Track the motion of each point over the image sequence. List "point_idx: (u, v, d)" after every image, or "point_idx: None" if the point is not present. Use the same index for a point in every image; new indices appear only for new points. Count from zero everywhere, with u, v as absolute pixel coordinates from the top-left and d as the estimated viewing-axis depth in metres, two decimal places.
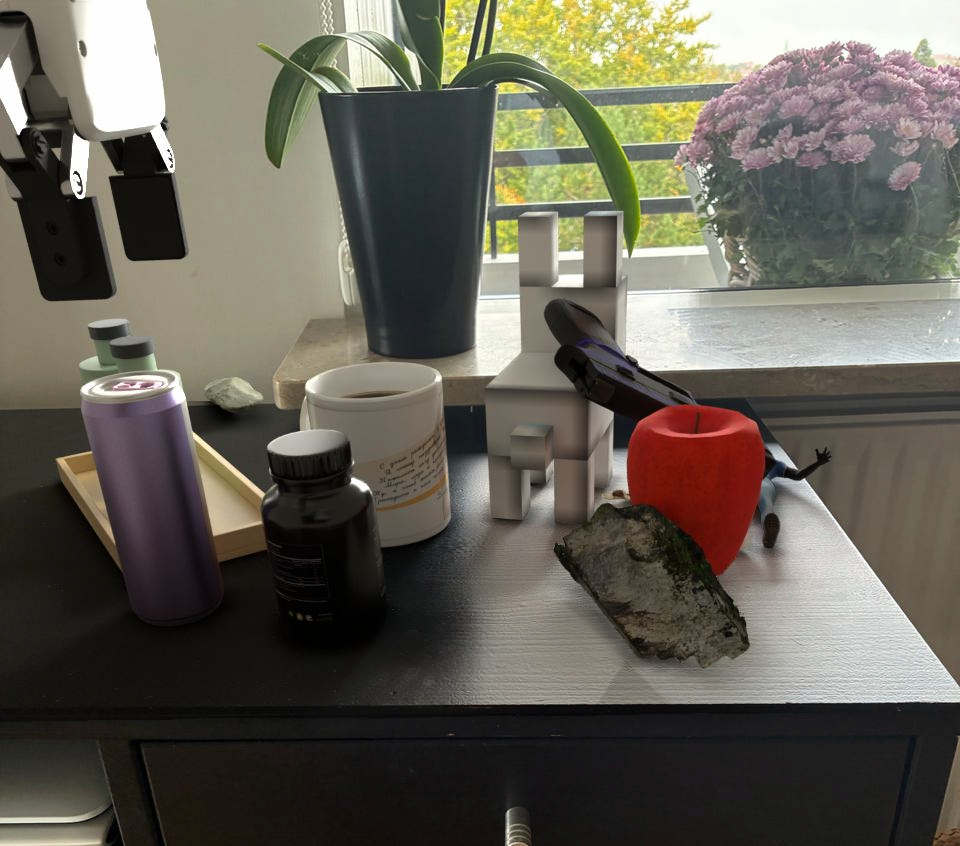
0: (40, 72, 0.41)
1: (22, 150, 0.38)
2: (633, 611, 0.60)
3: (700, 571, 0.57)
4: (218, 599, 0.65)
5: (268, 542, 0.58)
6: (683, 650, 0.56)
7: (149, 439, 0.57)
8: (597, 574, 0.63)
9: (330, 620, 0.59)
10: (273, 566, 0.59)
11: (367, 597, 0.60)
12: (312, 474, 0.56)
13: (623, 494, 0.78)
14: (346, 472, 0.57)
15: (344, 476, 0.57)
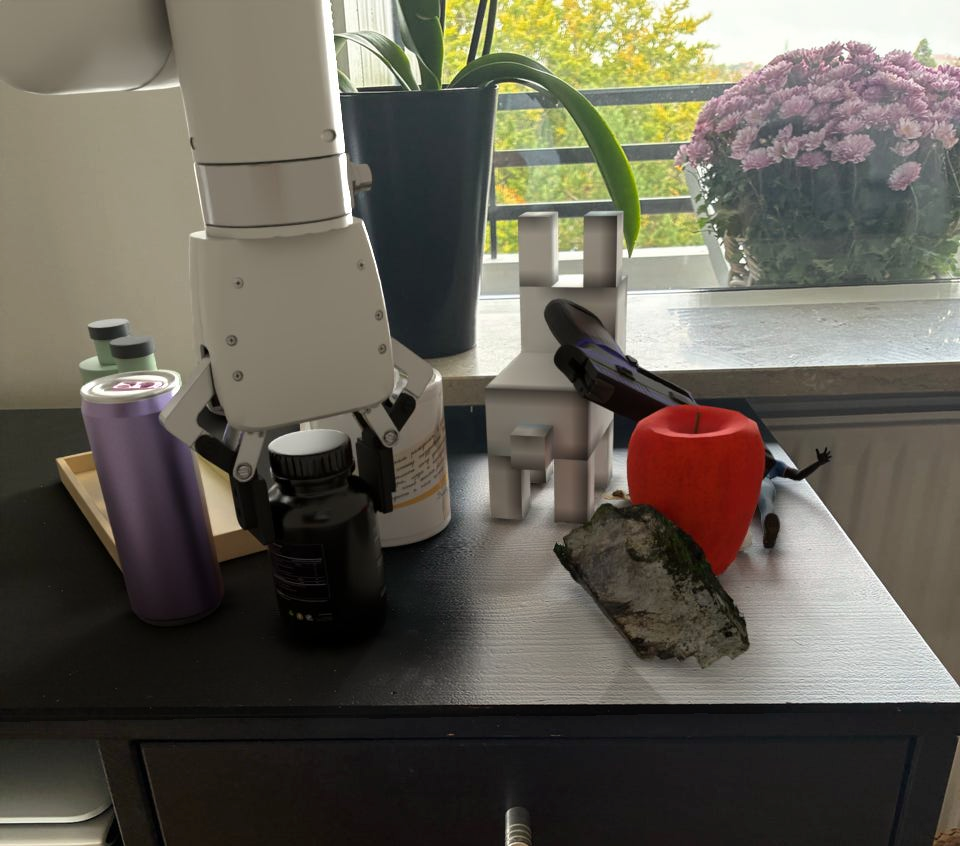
0: None
1: (197, 451, 0.53)
2: (633, 611, 0.60)
3: (700, 571, 0.57)
4: (218, 599, 0.65)
5: None
6: (683, 649, 0.56)
7: (149, 439, 0.57)
8: (597, 574, 0.63)
9: (330, 620, 0.59)
10: (273, 566, 0.59)
11: (367, 597, 0.60)
12: (313, 474, 0.56)
13: (623, 494, 0.78)
14: (347, 472, 0.57)
15: (345, 476, 0.57)
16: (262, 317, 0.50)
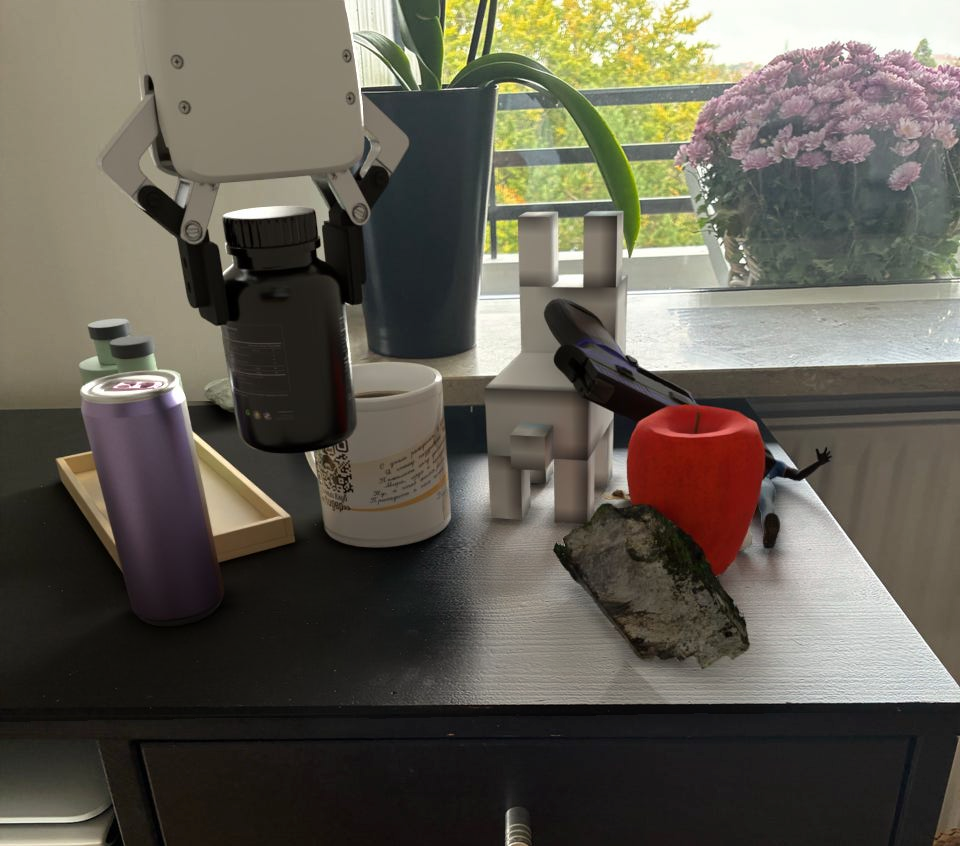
0: None
1: (139, 203, 0.48)
2: (633, 611, 0.60)
3: (700, 571, 0.57)
4: (218, 599, 0.65)
5: (223, 327, 0.52)
6: (683, 649, 0.56)
7: (149, 439, 0.57)
8: (597, 574, 0.63)
9: (291, 419, 0.53)
10: (228, 357, 0.53)
11: (333, 396, 0.54)
12: (272, 241, 0.50)
13: (623, 494, 0.78)
14: (310, 245, 0.51)
15: (308, 249, 0.51)
16: (212, 36, 0.44)
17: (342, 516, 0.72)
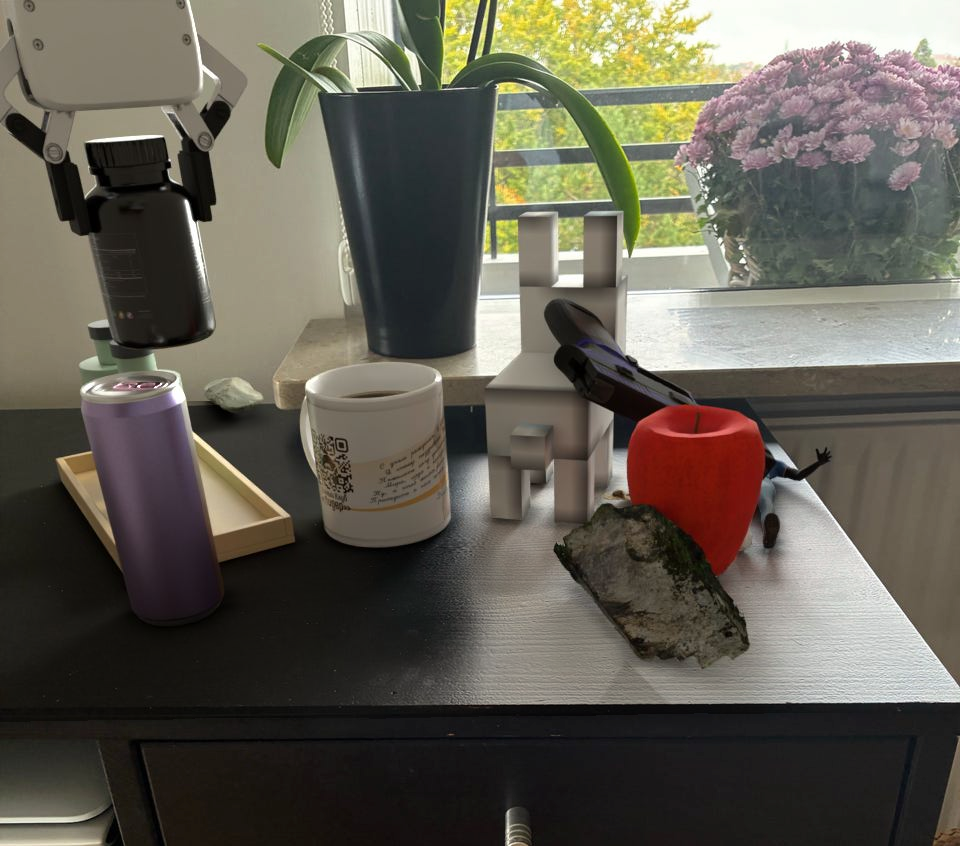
0: None
1: (7, 128, 0.57)
2: (633, 611, 0.60)
3: (700, 571, 0.57)
4: (218, 599, 0.65)
5: (89, 239, 0.62)
6: (683, 649, 0.56)
7: (149, 439, 0.57)
8: (597, 574, 0.63)
9: (149, 317, 0.62)
10: (96, 265, 0.62)
11: (186, 298, 0.63)
12: (123, 161, 0.59)
13: (623, 494, 0.78)
14: (158, 165, 0.60)
15: (157, 169, 0.60)
16: None
17: (342, 516, 0.72)
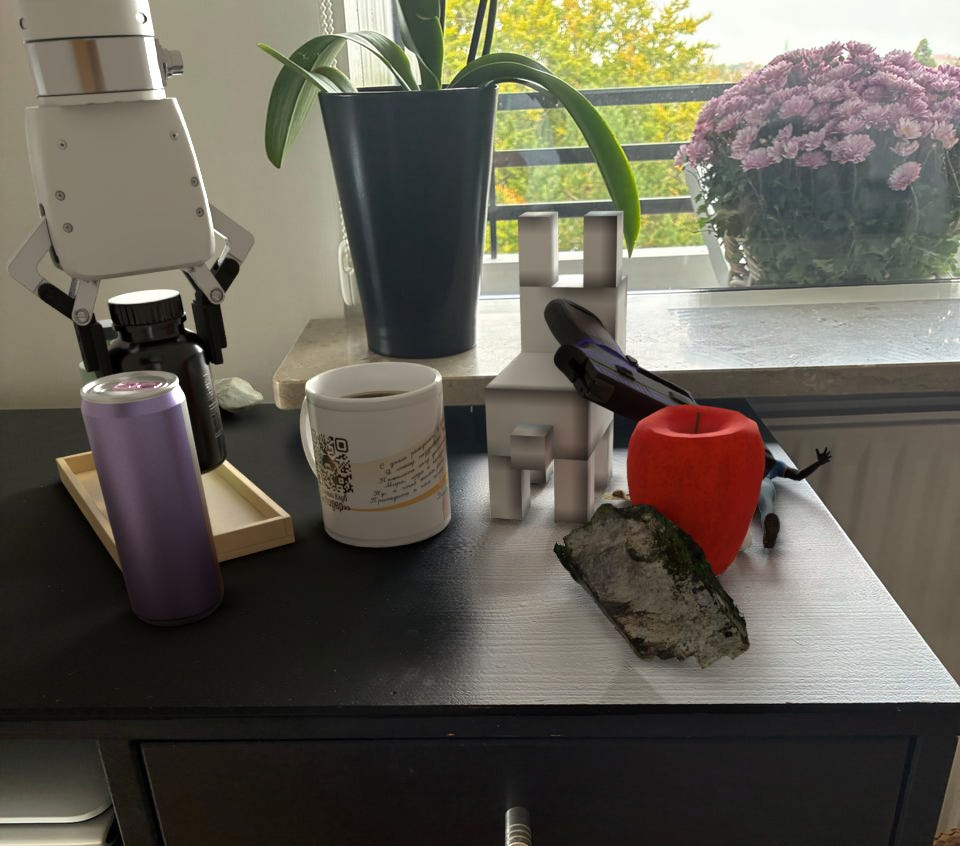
0: None
1: (39, 296, 0.63)
2: (633, 611, 0.60)
3: (700, 571, 0.57)
4: (218, 599, 0.65)
5: None
6: (683, 649, 0.56)
7: (149, 439, 0.57)
8: (597, 574, 0.63)
9: None
10: None
11: (201, 435, 0.69)
12: (144, 320, 0.65)
13: (623, 494, 0.78)
14: (175, 321, 0.66)
15: (173, 324, 0.66)
16: (86, 176, 0.60)
17: (342, 516, 0.72)
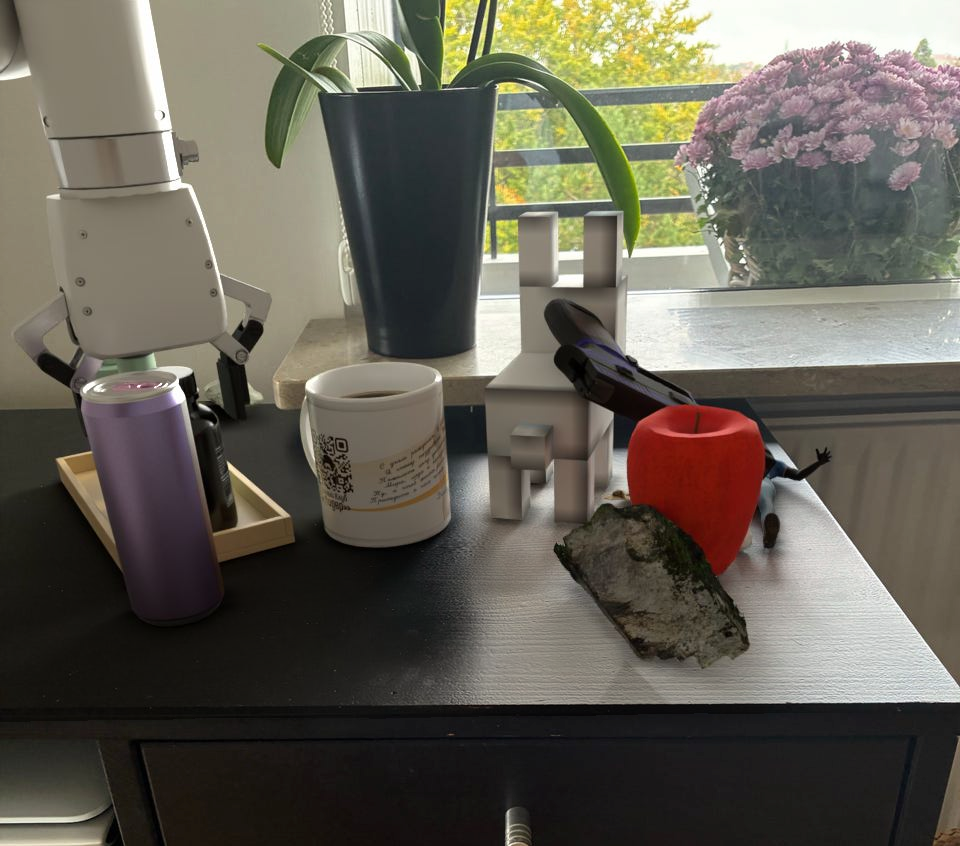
0: None
1: (38, 366, 0.65)
2: (633, 611, 0.60)
3: (700, 571, 0.57)
4: (218, 599, 0.65)
5: None
6: (683, 649, 0.56)
7: (149, 439, 0.57)
8: (597, 574, 0.63)
9: None
10: None
11: (213, 506, 0.72)
12: None
13: (623, 494, 0.78)
14: (189, 399, 0.69)
15: (187, 402, 0.69)
16: (105, 263, 0.62)
17: (342, 516, 0.72)
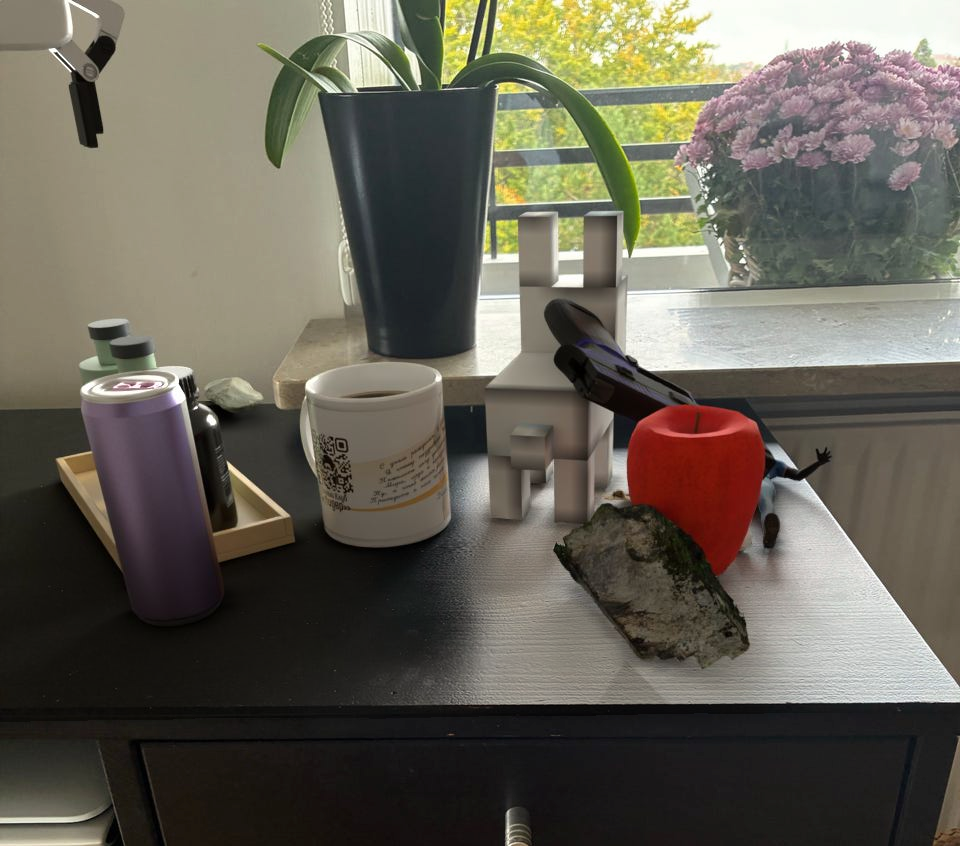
0: None
1: None
2: (633, 611, 0.60)
3: (700, 571, 0.57)
4: (218, 599, 0.65)
5: None
6: (683, 649, 0.56)
7: (149, 439, 0.57)
8: (597, 574, 0.63)
9: None
10: None
11: (213, 506, 0.72)
12: None
13: (623, 494, 0.78)
14: (189, 399, 0.69)
15: (187, 402, 0.69)
16: None
17: (342, 516, 0.72)
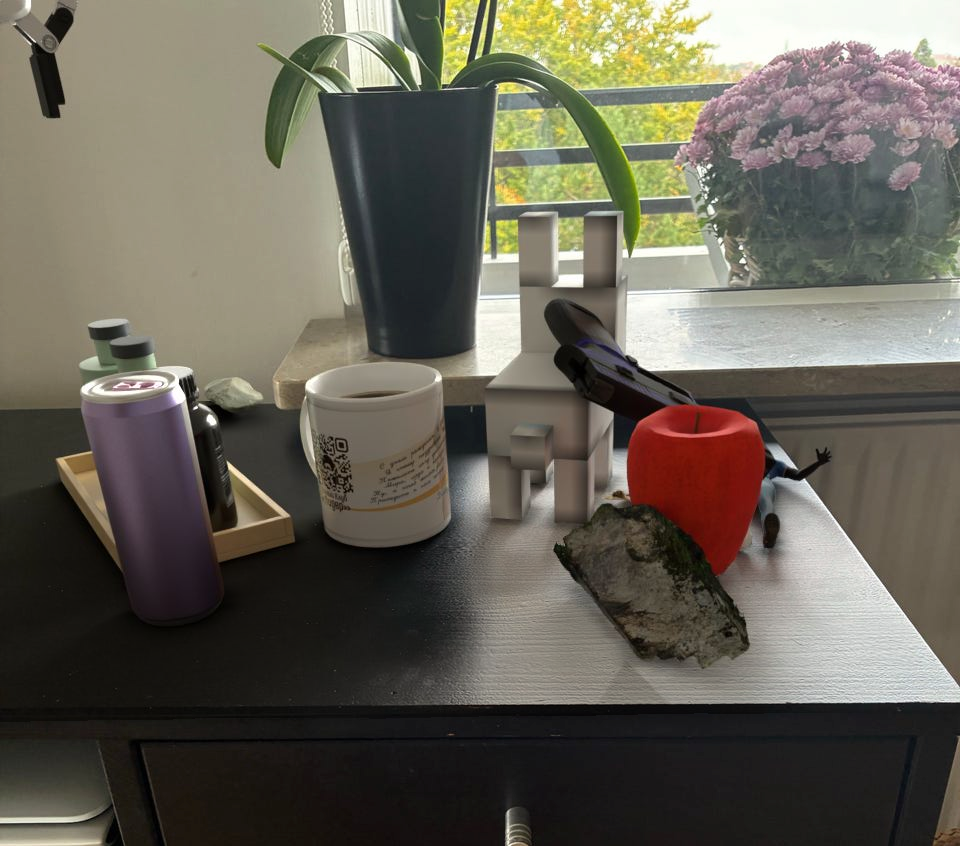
0: None
1: None
2: (633, 611, 0.60)
3: (700, 571, 0.57)
4: (218, 599, 0.65)
5: None
6: (683, 649, 0.56)
7: (149, 439, 0.57)
8: (597, 574, 0.63)
9: None
10: None
11: (213, 506, 0.72)
12: None
13: (623, 495, 0.78)
14: (189, 399, 0.69)
15: (187, 402, 0.69)
16: None
17: (342, 516, 0.72)
